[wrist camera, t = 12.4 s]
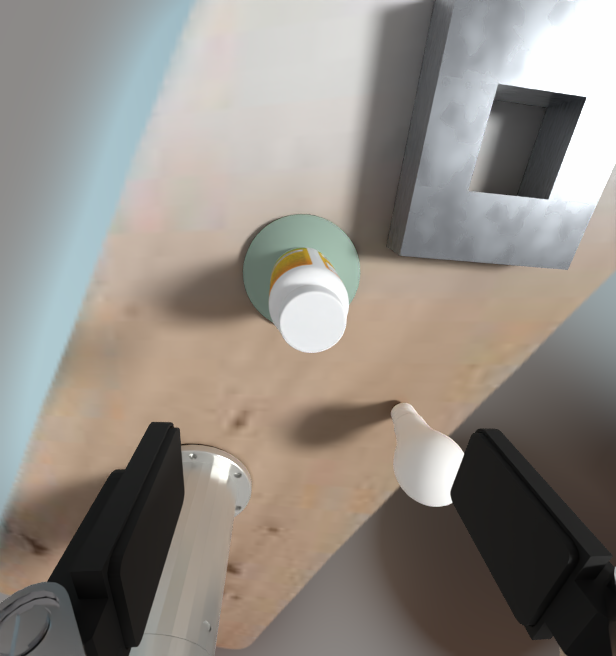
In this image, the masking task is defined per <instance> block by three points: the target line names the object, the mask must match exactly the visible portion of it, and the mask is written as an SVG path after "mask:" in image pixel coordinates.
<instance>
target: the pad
mask: <svg viewBox="0 0 616 656" xmlns="http://www.w3.org/2000/svg"><path fill="white" fill-rule="evenodd" d="M298 247H309V248H313V249H316V250H318V251H319V252H321V253H322V254H324V255H325V256H326V257H327V258H328V260H329V261H330V262H331V264H332V266H333V267H334V269H335V271H336V272H337V274H338V276H339V277H340V279H341V280H342V282H343V284H344V286H345V288H346V290H347V294H348V299H349V304H350V303H351V301H352V300H353V298H354V296H355V294H356V291H357V288H358V285H359V280H360V264H359V258H358V255H357V252H356V249H355V247H354V245H353V243H352V242H351V240H350V239H349V237H348V236H347V235H346V234H345V233H344V232H343V231H342V230H341V229H340V228H339V227H338V226H336V225H335V224H333V223H332V222H330V221H328V220H326V219H324V218H321V217H318V216H314V215H308V214H296V215H289V216H286V217H282V218H280V219H277V220H275V221H274V222H272V223H270V224H269V225H267V226H266V227H265V228H263V229H262V230H261V231H260V232H259V233H258V234H257V236H256V237H255V238H254V240H253V241H252V243H251V245H250V247H249V249H248V251H247V254H246V256H245V261H244V266H243V280H244V285H245V289H246V292H247V295H248V297H249V299H250V301H251V302H252V304H253V305H254V307H255V308H256V309H257V310H258V311H259V312H260V313H261V314H262V315H263V316H264V317H265V318H267V319H268V320H270V321H271V322H273V321H272V319H271V316H270V312H269V292H270V279H271V273H272V269H273V267H274V264H275V263H276V261H277V260H278V258H279V257H280V256H281V255H282V254H284V253H285V252H287V251H288V250H291V249H294V248H298Z"/></svg>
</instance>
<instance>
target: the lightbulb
mask: <svg viewBox="0 0 616 656" xmlns="http://www.w3.org/2000/svg"><path fill="white" fill-rule="evenodd" d="M391 417H392V420H393V423H394V431H395V434H396V438H397V446H396V449H395V454H394V462H393V465H394V472H395V476H396V478H397V481H398V482H399V484H400V486H401V487H402V489H403V490H404V491H405V492H406V493H407V494H408V495H409V496H410V497H411V498H413V499H414V500H416V501H417V502H419V503H422V504H424V505H427V506H445V505H448V504H451V503H453V502H452V500H451V496H450V491H451V488H452V485H453V482H454V480H455V477H456V474H457V472H458V469H459V466H460V464H461V461H462V459H463V456H464V453H463V452H462V450H461V449H460V447H459V446H458V445H457V444H456V443H455V442H454V441H453V440H452V439H450V438H449V437H448V436H446V435H444V434H442V433H441V432H438V431H436V430H434V429H432V428H431V427H429V426H428V424H427V423H426V422H425V421H424V419H423V418H422V417H421V416H420V415H418V414H417V412H416V411H415V409H414V408H413V407H412V405H410V404H408V403H399V404H397V405H395V406H394V407H393V409H392V411H391Z"/></svg>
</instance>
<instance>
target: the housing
mask: <svg viewBox="0 0 616 656" xmlns="http://www.w3.org/2000/svg"><path fill="white" fill-rule="evenodd" d="M493 100H498V101H506V102H513V103H520V104H527V105H534V106H541V107H547V110H546V113H545V116H544V118H543V121H542V124H541V127H540V130H539V133H538V136H537V139H536V142H535V145H534V148H533V151H532V153H531V156H530V159H529V162H528V165H527V168H526V171H525V174H524V177H523V180H522V183H521V186H520V189H519V191H518V194H517V196H510V195H501V194H492V193H483V192H473V191H468V189H469V186H470V182H471V178H472V175H473V171H474V168H475V164H476V161H477V157H478V154H479V150H480V146H481V143H482V139H483V136H484V132H485V129H486V125H487V122H488V118H489V114H490V111H491V107H492V104H493ZM615 162H616V0H435V2H434V7H433V12H432V17H431V22H430V27H429V32H428V37H427V42H426V47H425V52H424V58H423V63H422V68H421V73H420V78H419V83H418V88H417V93H416V98H415V103H414V109H413V114H412V119H411V124H410V129H409V134H408V139H407V144H406V149H405V154H404V159H403V165H402V170H401V175H400V180H399V185H398V190H397V195H396V200H395V205H394V210H393V216H392V221H391V226H390V231H389V236H388V241H387V246H386V247H388V248H389V249H391V250H392V251H394V252H395V253H397V254H398V255H400V256H410V257H422V258H433V259H445V260H457V261H469V262H481V263H493V264H505V265H517V266H529V267H541V268H553V269H565V270H568V268H569V266H570V264H571V261H572V259H573V257H574V255H575V252H576V250H577V248H578V246H579V243H580V241H581V239H582V237H583V234H584V232H585V230H586V228H587V225H588V223H589V221H590V219H591V216H592V214H593V212H594V210H595V207H596V205H597V203H598V201H599V198H600V196H601V194H602V192H603V189H604V187H605V185H606V182H607V180H608V178H609V176H610V173H611V171H612V169H613V167H614V164H615Z"/></svg>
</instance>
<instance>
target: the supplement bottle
mask: <svg viewBox="0 0 616 656" xmlns="http://www.w3.org/2000/svg"><path fill="white" fill-rule="evenodd" d="M348 309H349V299H348V294H347V290H346V288H345V286H344V284H343V282H342V280H341V279H340V277H339V276H338V274H337V272H336V271H335V269H334V267H333V266H332V264H331V262H330V261H329V260H328V258H327V257H326V256H325V255H324V254H322V253H321V252H319V251H318V250H316V249H313V248H309V247H298V248H294V249H291V250H288V251H287V252H285V253H284V254H282V255H281V256H280V257H279V258H278V260H277V261H276V263H275V264H274V267H273V269H272V273H271V279H270V292H269V312H270V316H271V319H272V321H273V323H274V325H275V326H276V328H277V329H278V330H279V331H280V332H281V334H282V336H283V338H284V340H285V341H286V342H287V343H288V344H289V345H290V346H291V347H293V348H295V349H297V350H299V351H302V352H307V353H316V352H321V351H324V350H327V349H329V348H330V347H332V346H333V345H335V344H336V343H337V342H338V341H339V340H340V338H341V337H342V335H343V333H344V331H345V327H346V317H347V314H348Z"/></svg>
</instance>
